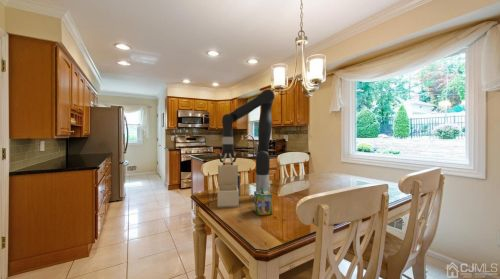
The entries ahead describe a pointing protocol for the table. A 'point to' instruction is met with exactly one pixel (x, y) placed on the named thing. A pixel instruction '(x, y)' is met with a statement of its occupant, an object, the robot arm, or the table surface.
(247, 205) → the table surface
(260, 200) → the chalk box
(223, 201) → the carton
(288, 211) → the table surface
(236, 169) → the carton lid
